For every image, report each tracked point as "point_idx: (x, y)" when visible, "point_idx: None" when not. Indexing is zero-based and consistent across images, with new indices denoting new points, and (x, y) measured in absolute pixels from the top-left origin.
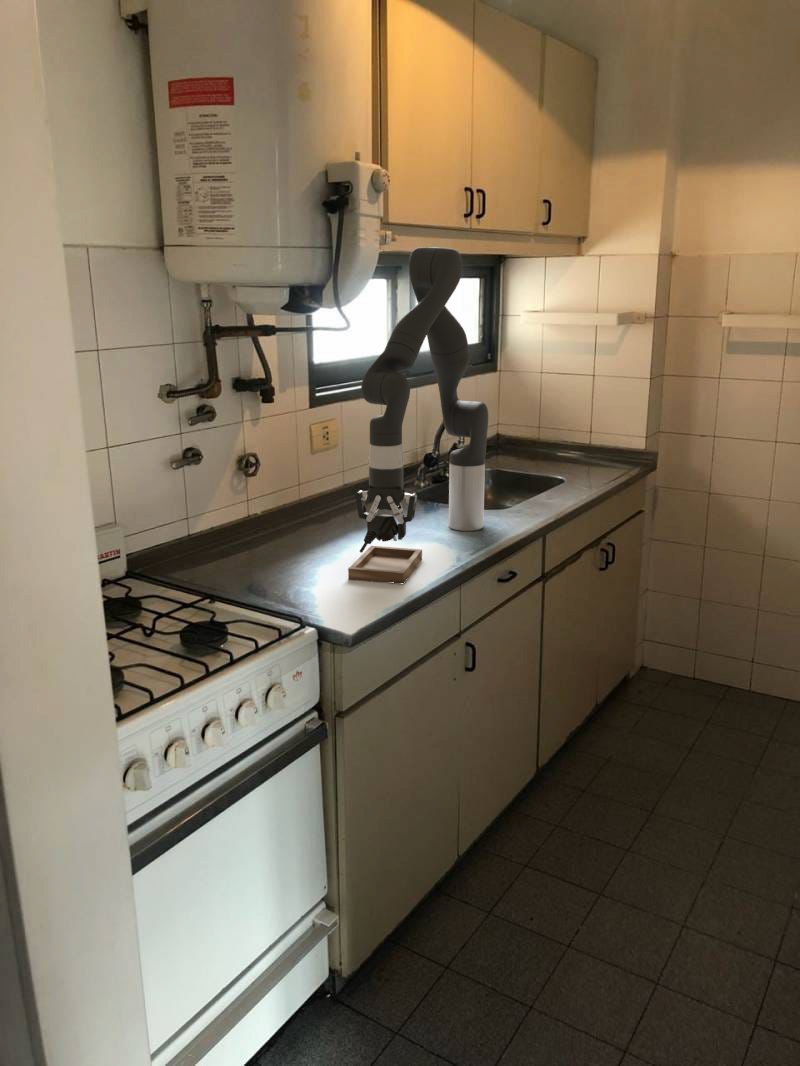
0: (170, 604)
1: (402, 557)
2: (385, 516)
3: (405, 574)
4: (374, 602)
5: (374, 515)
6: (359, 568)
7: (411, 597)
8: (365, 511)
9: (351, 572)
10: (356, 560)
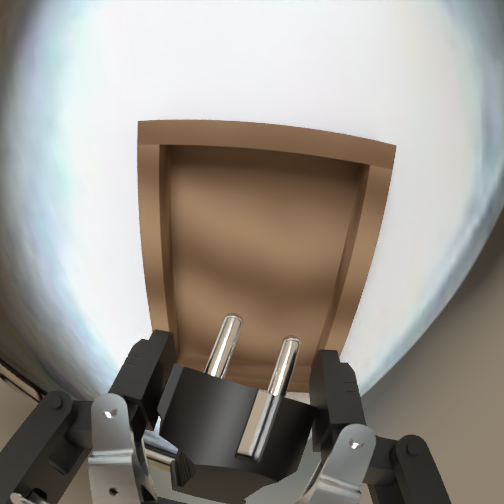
0: (30, 399)
1: (302, 164)
2: (234, 495)
3: None
4: None
5: (129, 431)
6: None
7: None
8: (63, 428)
9: None
10: (150, 315)
